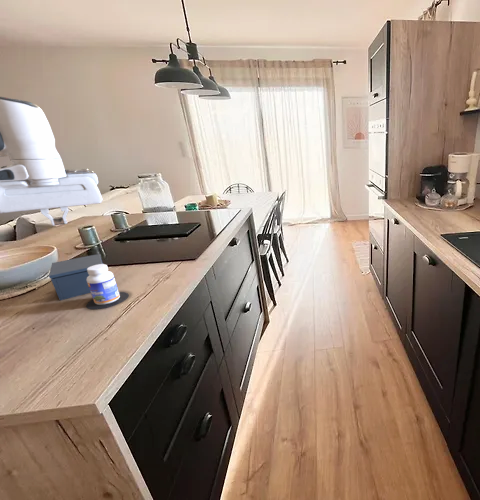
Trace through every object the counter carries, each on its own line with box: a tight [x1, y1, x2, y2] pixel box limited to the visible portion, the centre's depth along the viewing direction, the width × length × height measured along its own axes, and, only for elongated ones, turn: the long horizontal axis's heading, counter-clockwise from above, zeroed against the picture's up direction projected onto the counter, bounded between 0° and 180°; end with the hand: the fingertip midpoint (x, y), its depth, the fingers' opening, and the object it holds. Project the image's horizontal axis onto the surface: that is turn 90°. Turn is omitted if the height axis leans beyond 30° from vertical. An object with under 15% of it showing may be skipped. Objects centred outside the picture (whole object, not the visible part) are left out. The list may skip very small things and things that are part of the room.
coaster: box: [85, 291, 130, 311], centre depth 77 cm, size 9×9×1 cm
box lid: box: [48, 253, 103, 280], centre depth 81 cm, size 12×11×1 cm
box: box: [50, 258, 104, 301], centre depth 83 cm, size 12×11×7 cm
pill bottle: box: [87, 263, 120, 305], centre depth 75 cm, size 5×5×10 cm
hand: (60, 224), depth 76 cm, fingers closed
